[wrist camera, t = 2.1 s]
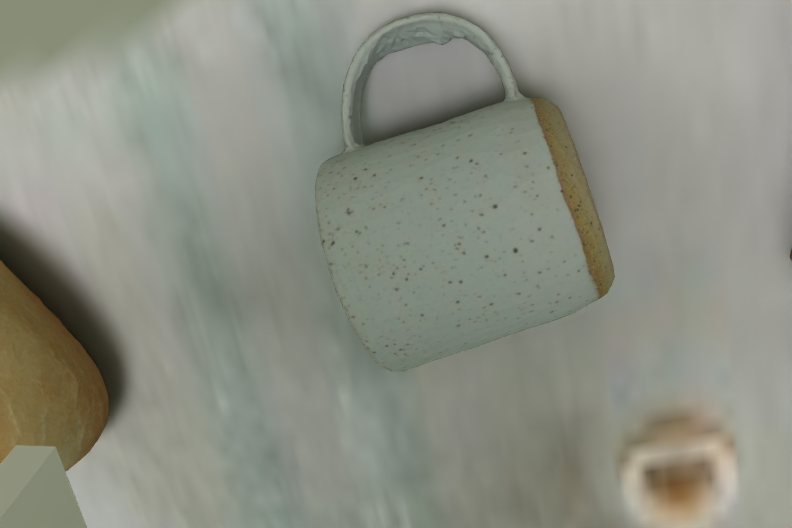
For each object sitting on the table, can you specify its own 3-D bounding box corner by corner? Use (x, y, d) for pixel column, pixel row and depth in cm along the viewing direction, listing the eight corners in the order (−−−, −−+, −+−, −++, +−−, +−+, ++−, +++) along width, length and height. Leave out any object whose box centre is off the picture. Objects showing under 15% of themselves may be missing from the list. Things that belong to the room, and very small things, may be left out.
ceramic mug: (604, 238, 27) (643, 350, 20) (410, 301, 29) (387, 420, 23) (513, -35, 23) (523, -9, 16) (297, 61, 25) (227, 119, 19)
